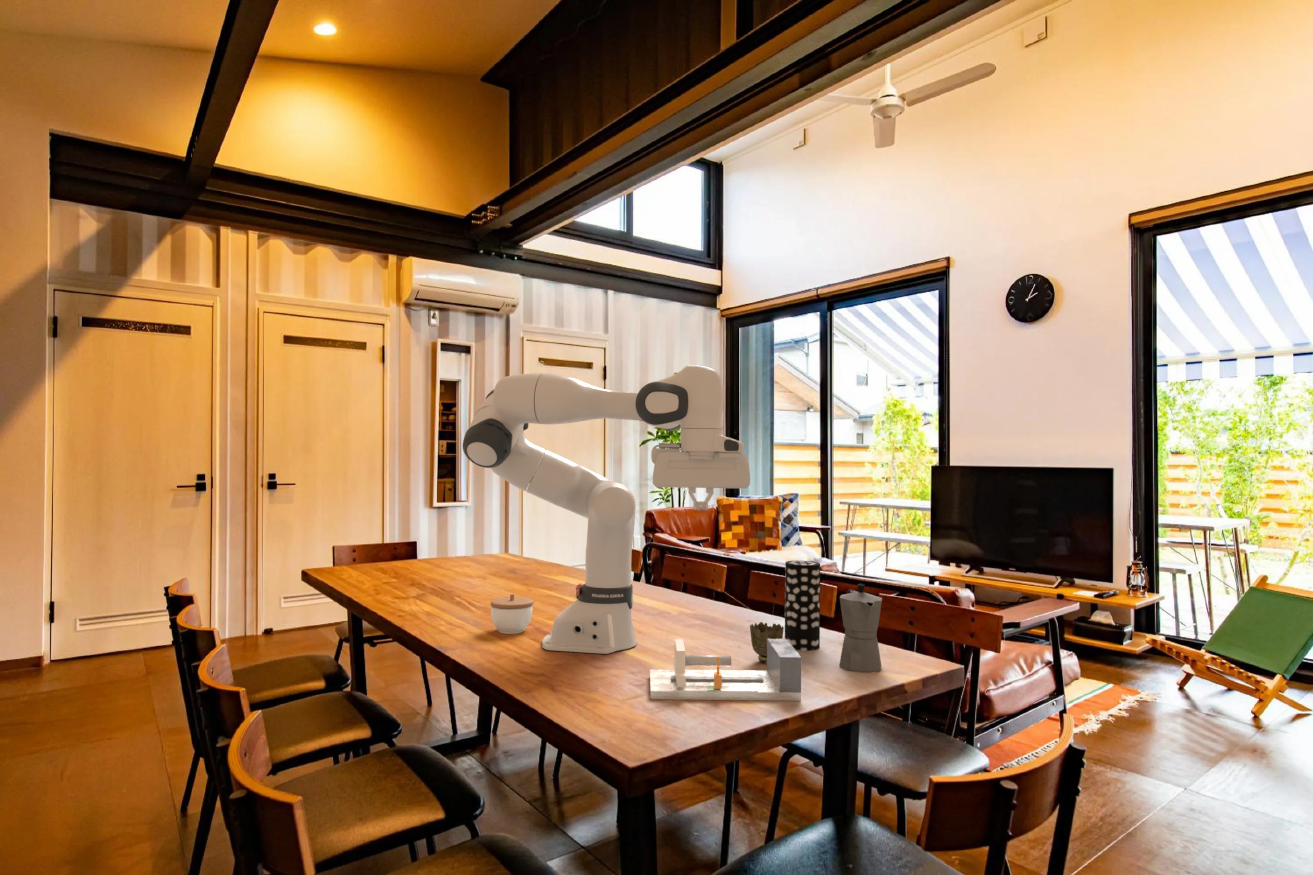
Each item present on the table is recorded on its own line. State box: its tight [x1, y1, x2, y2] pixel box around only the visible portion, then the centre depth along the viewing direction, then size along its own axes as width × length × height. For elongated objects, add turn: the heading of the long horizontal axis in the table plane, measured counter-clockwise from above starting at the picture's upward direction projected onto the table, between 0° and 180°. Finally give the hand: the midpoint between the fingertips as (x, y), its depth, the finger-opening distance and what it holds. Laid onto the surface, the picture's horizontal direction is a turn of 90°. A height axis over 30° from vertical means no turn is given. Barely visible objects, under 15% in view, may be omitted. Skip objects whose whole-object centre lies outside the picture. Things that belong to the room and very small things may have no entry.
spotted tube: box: [784, 560, 821, 652], centre depth 176 cm, size 8×8×20 cm
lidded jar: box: [490, 593, 534, 635], centre depth 187 cm, size 11×11×9 cm
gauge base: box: [649, 638, 802, 702], centre depth 142 cm, size 28×14×8 cm, turn 91°
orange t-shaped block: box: [714, 656, 722, 689], centre depth 137 cm, size 1×2×6 cm, turn 1°
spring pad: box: [673, 638, 732, 687], centre depth 141 cm, size 11×12×6 cm
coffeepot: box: [839, 583, 883, 674], centre depth 160 cm, size 15×9×18 cm, turn 2°
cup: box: [749, 621, 785, 664], centre depth 162 cm, size 8×7×8 cm
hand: (700, 510), depth 151 cm, fingers closed
